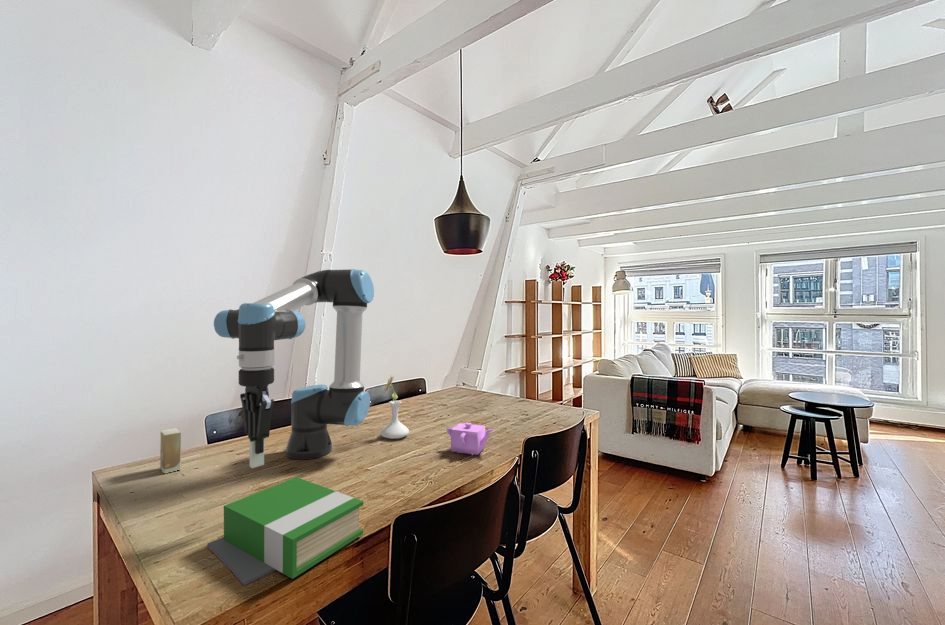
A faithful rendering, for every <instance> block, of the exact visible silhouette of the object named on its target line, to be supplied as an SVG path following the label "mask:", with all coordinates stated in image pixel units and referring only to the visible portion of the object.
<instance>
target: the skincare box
mask: <svg viewBox="0 0 945 625" xmlns="http://www.w3.org/2000/svg"><path fill="white" fill-rule="evenodd" d="M159 447H160V449H159V450H160V455H159V456H160V459H159V460H160V461H159V468H160V471H161V470H162V471H161V472H162V473H168V472H172V473H174V472H173V471H176V472H178V471H177V470H180V471H181V470H182V469H181V468H182V466H181V463H182V462H181V461H182V458H181V457H182V451H181V450H182V431H180V430H179V429H178V428H177V427H174V428H168V429H163V430H160V446H159ZM168 474H169V473H168Z"/></svg>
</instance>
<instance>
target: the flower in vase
mask: <svg viewBox="0 0 945 625" xmlns="http://www.w3.org/2000/svg"><path fill="white" fill-rule="evenodd" d="M394 377H395V376H394V375H391V376H390V378H388V379H387V383H386V384H384V388H383V390H382V394H386V393H387V391H388V390H389V389H390V387H391V389H392V391H393V393H391V398H392V400H391V401H388V404H389V405H390V409H391V420H390V422H388V423H387V424H386V425H385V426H384V427H382V429H381V430H380V432H379V433H380V436H381V437H383V438H386V439H392V440H393V439H396V440H397V439H401V438H404V437H406V436H408V435H409V434H410V430H409V428H408V427H407V426H406V425H404V424H403V423H402V422H400V420H399V407H400V405H401V403H402V401H401V400H397V399H398V398H399V396H398V395H397V393H396V391H395V390H394V387H393V385H392V383H393V381H394Z"/></svg>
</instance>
